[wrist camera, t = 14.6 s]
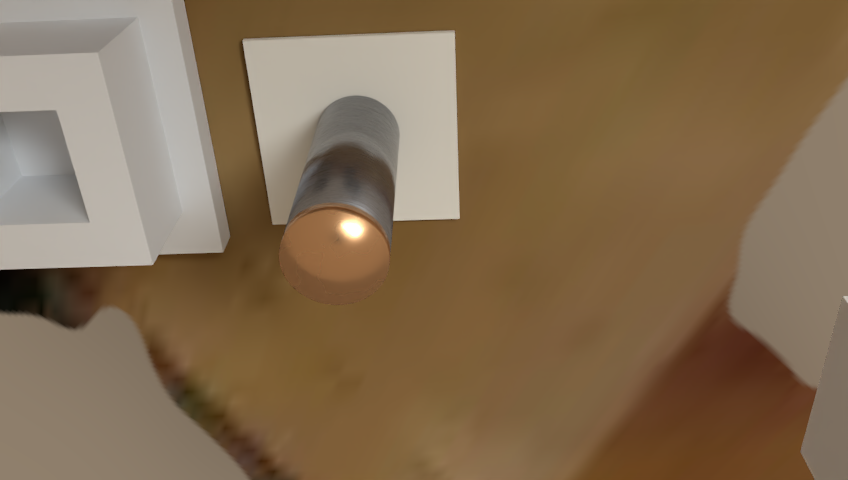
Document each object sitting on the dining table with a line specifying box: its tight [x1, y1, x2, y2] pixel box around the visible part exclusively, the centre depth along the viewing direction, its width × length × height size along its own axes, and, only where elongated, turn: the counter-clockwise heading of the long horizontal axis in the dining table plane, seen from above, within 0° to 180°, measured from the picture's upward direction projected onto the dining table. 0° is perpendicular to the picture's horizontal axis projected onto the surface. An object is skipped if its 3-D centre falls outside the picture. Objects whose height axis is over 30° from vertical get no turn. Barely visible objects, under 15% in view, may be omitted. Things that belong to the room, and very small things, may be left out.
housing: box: [0, 0, 230, 270], centre depth 45 cm, size 18×16×8 cm
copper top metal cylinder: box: [279, 95, 400, 305], centre depth 42 cm, size 5×5×14 cm
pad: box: [243, 30, 460, 225], centre depth 49 cm, size 12×12×1 cm
